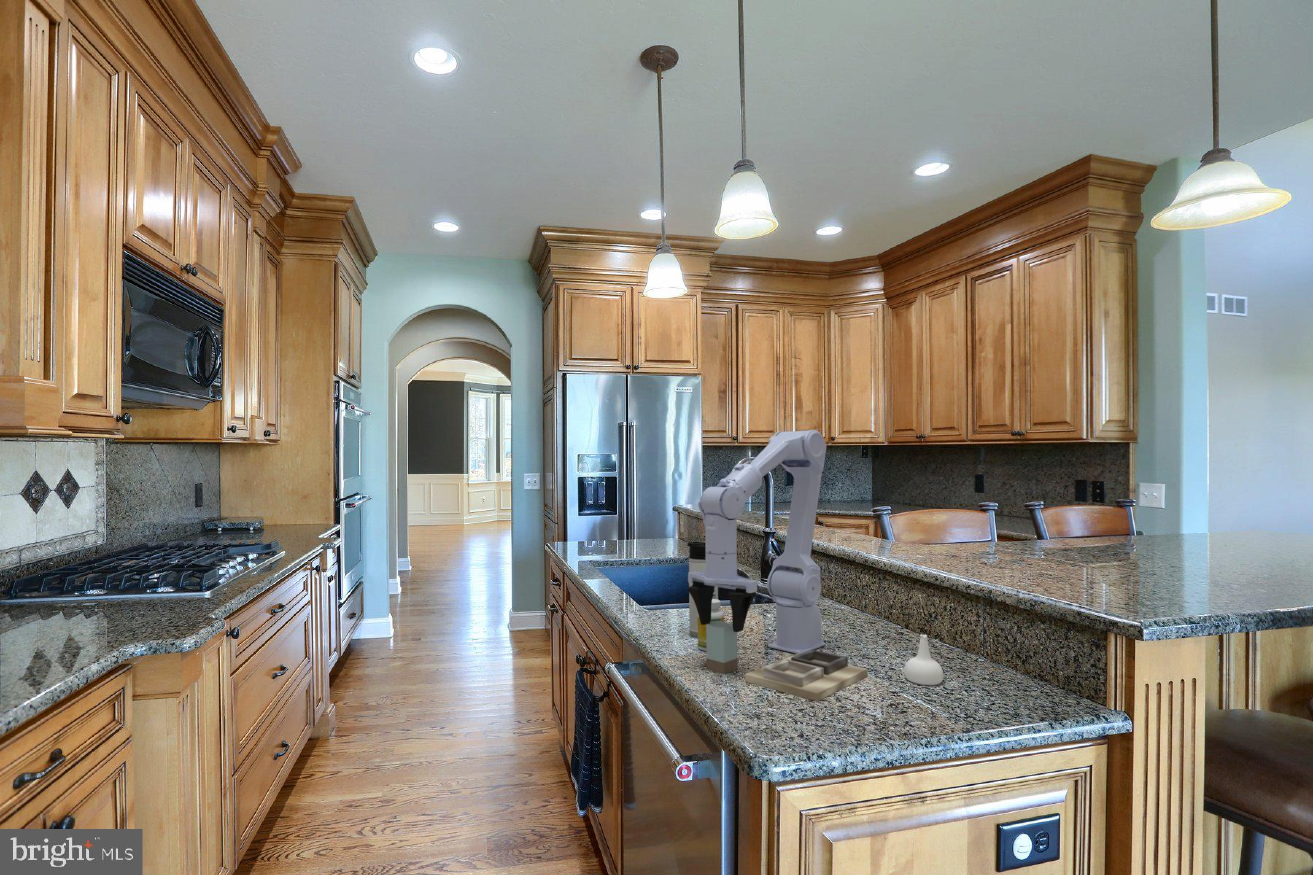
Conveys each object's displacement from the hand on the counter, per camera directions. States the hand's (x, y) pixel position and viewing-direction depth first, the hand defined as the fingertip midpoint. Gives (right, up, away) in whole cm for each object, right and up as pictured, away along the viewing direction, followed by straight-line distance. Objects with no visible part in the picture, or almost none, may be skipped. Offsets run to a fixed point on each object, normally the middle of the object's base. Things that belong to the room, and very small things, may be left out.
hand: (721, 627), depth 121 cm
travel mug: (-2, -9, +24) cm, 25 cm away
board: (+14, -7, -6) cm, 17 cm away
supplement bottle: (-1, -8, +13) cm, 16 cm away
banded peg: (0, -8, 0) cm, 8 cm away
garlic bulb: (+34, -8, -7) cm, 36 cm away
